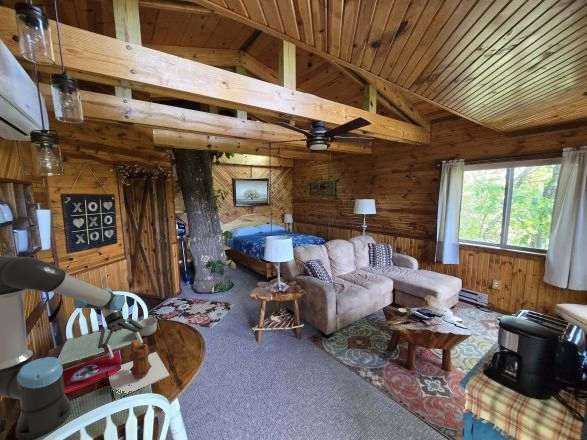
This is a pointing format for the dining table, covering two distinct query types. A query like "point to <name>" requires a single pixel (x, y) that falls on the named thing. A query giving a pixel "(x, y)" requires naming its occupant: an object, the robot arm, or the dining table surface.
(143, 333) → the teacup
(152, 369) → the placemat
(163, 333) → the dining table surface
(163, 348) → the dining table surface
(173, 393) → the dining table surface
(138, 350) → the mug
